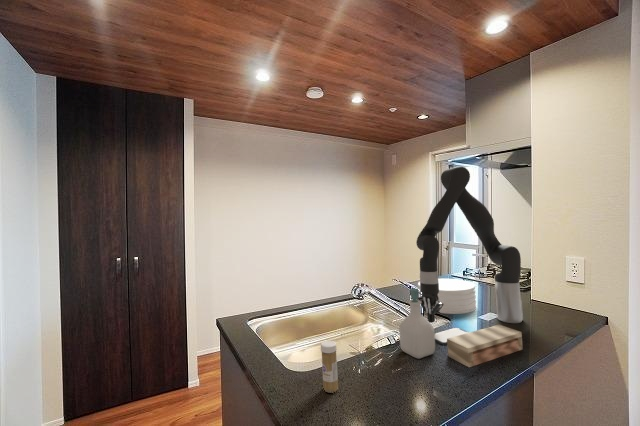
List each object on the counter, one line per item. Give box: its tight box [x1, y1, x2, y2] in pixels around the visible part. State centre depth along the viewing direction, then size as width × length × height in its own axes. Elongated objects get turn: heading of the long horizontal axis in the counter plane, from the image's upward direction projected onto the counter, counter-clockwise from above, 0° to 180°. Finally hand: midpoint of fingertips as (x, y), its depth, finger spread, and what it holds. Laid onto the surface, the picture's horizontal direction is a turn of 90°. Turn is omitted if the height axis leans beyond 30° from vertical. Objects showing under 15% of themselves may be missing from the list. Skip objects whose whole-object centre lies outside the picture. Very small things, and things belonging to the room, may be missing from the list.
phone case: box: [434, 327, 470, 346], centre depth 115 cm, size 9×2×16 cm
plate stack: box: [417, 278, 477, 315], centre depth 155 cm, size 28×28×12 cm
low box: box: [446, 324, 524, 368], centre depth 101 cm, size 26×8×6 cm, turn 112°
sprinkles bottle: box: [320, 340, 339, 392], centre depth 84 cm, size 5×5×14 cm
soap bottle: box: [398, 288, 436, 360], centre depth 104 cm, size 10×10×23 cm
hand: (431, 321), depth 124 cm, fingers closed
